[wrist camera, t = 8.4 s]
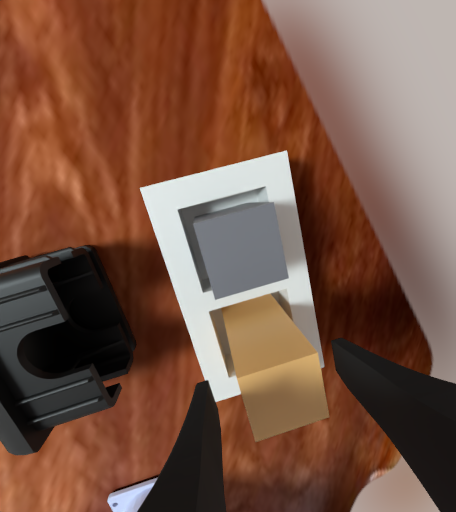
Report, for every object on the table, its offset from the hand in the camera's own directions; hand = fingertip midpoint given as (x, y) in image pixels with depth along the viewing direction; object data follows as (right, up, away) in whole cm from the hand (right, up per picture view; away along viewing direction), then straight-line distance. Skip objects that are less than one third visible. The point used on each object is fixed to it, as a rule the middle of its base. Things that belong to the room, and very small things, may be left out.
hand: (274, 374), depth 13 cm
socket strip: (-2, +5, +6) cm, 8 cm away
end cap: (-14, +2, +5) cm, 16 cm away
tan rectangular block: (-1, +1, +6) cm, 7 cm away
